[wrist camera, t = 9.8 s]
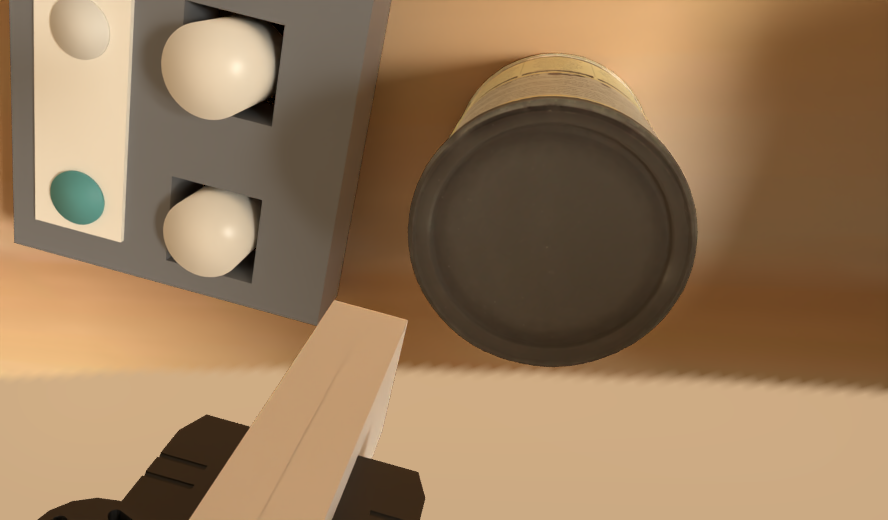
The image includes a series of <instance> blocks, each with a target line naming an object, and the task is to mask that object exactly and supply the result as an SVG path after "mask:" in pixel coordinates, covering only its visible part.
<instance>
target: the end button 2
mask: <svg viewBox="0 0 888 520" xmlns="http://www.w3.org/2000/svg"><path fill="white" fill-rule="evenodd" d="M261 207H262V200H260V199H256V198H252V197H248V196H245V195H241V194H237V193H233V192H230V191H226V190H222V189H219V188H215V187H211V186H207V185H206V186H204V187H203V188H201V189H200V190H198V191H196V192H195V193H193V194H192V195H190V196H189V197H187V198H185V199H184V200H182V201H181V202H179V203H178V204H176V205H175V206H174V207H173V208H172V209H171V210H170V211H169V212H168V214H167V216H166V218H165V221H164V226H163V236H164V241H165V244H166V247H167V249H168V251H169V253H170V254H171V256H172V257H173V258H174V260H175V261H176V262H177V263H178V264H179V265H180V266H182V267H183V268H184V269H186V270H187V271H189V272H191V273H193V274H196V275H199V276H203V277H218V276H222V275H224V274H226V273H228V272H230V271H231V270H232V269H233V268H235V267H236V266H237V265H238V264H239V263H240V262H241V261H242V260H243V259H244V258H245V257H246V256H247V255H248V254H249V253H250V252H251V251H252V250H253V249H255V248H256V246H257V238H258V230H259V222H260V215H261Z"/></svg>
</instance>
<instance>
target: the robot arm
mask: <svg viewBox="0 0 888 520" xmlns="http://www.w3.org/2000/svg"><path fill="white" fill-rule="evenodd" d="M407 323H408V320H406V319H403V318H399V317H395V316H392V315H388V314H384V313H381V312H377V311H373V310H370V309H366V308H362V307H359V306H355V305H351V304H348V303H344V302H340V301H337V300H334V301H333V302H332V304H331V306H330V307H329V309H328V310H327V312H326V313H325V315H324V316H323V318H322V319H321V321H320V322H319V324H318V325H317V327H316V328H315V330H314V331H313V333H312V334H311V336H310V337H309V339H308V340H307V342H306V343H305V345H304V346H303V348H302V349H301V351H300V352H299V354H298V355H297V357H296V358H295V360H294V362H293V363H292V365H291V366H290V368H289V369H288V371H287V372H286V374H285V375H284V377H283V378H282V380H281V381H280V383H279V384H278V386H277V387H276V389H275V390H274V392H273V393H272V395H271V397H270V398H269V400H268V401H267V402H266V404H265V405H264V407H263V408H262V410H261V412H260V413H259V415H258V416H257V418H256V419H255V421H254V422H253V424H252V425H251V427H249V426H245V425H242V424H238V423H235V422H231V421H228V420H224V419H220V418H217V417H213V416H210V415H205V416H203V417H201V418H200V419H198V420H196V421H194V422H193V423H191V424H189V425H187V426H185V427H184V428H182V429H180V430H179V431H178V432H177V433H176V434H175V436H174V437H173V438H172V439H171V441H170V442H169V443H168V444H167V446H166V447H165V448H164V449H163V451H162V452H161V454H160V457H157V458H156V459H155V460H154V462H153V463H152V464H151V465H150V467H149V468H148V469H147V470H146V473H145V476H142V477H141V478H140V479H139V480H138V481H137V483H136V484H135V485H134V486H133V488H132V489H131V490H130V491H129V493H128V494H127V495H126V496H125V498H124V499H123V500H122V501H117V500H110V499H102V498H93V499H86V500H79V501H72V502H69V503H67V504H65V505H62V506H60V507H57V508H55V509H52V510H50V511H48V512H47V513H46V514H44V515H43V516H42V517H40V518H39V519H38V520H420V517H421V513H422V509H423V505H424V501H425V495H424V492H423V488H422V484H421V481H420V477H419V473H418V472H416V471H412V470H409V469H405V468H401V467H398V466H394V465H391V464H387V463H383V462H380V461H376V460H373V459H372V457H373V454H374V452H375V449H376V446H377V443H378V441H379V439H380V436H381V433H382V430H383V426H384V421H385V417H386V412H387V409H388V404H389V400H390V396H391V391H392V387H393V383H394V378H395V374H396V370H397V366H398V361H399V357H400V353H401V348H402V344H403V340H404V336H405V331H406V327H407Z"/></svg>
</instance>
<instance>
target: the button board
mask: <svg viewBox="0 0 888 520" xmlns="http://www.w3.org/2000/svg"><path fill="white" fill-rule="evenodd" d="M390 4H391V0H9V16H10V62H11V108H12V155H13V201H14V243H17V244H21V245H24V246H28V247H32V248H35V249H39V250H43V251H46V252H50V253H54V254H57V255H61V256H64V257H68V258H72V259H75V260H79V261H83V262H86V263H90V264H94V265H97V266H101V267H104V268H108V269H112V270H115V271H119V272H123V273H126V274H130V275H134V276H137V277H141V278H144V279H148V280H152V281H155V282H159V283H163V284H166V285H170V286H174V287H177V288H181V289H185V290H188V291H192V292H195V293H199V294H203V295H206V296H210V297H214V298H217V299H221V300H225V301H228V302H232V303H235V304H239V305H243V306H246V307H250V308H254V309H257V310H261V311H265V312H268V313H272V314H275V315H279V316H283V317H286V318H290V319H294V320H297V321H301V322H305V323H308V324H312V325H315V326H317V325H318V324H319V322H320V320H321V319H322V317H323V316H324V314H325V313H326V311H327V310H328V308H329V307H330V305H331V304H332V302H333V301H334V299H335V298H336V296H337V293H338V287H339V282H340V276H341V271H342V266H343V260H344V255H345V249H346V244H347V238H348V233H349V227H350V222H351V217H352V211H353V206H354V200H355V195H356V189H357V184H358V179H359V173H360V168H361V162H362V157H363V151H364V146H365V140H366V135H367V130H368V124H369V119H370V113H371V108H372V102H373V97H374V92H375V86H376V81H377V75H378V70H379V64H380V59H381V53H382V48H383V43H384V37H385V32H386V26H387V21H388V15H389V10H390ZM219 9H223V10H227V11H231V12H235V13H238V14H242V15H246V16H250V17H254V18H258V19H262V20H266V21H270V22H274V23H278V24H281V25H285V28H284V35H283V43H282V51H281V59H280V67H279V74H278V82H277V90H276V98H275V105H271V104H267V103H263V102H260V103H258V104H255V105H253V106H251V107H249V108H247V109H245V110H243V111H241V112H239V113H237V114H235V115H232V116H230V117H228V118H225V119H220V120H207V119H202V118H199V117H197V116H194V115H192V114H190V113H189V112H187V111H186V110H185V109H183V108H182V107H181V106H180V105H179V104H178V103H177V102H176V101H175V100H174V98H173V97H172V96H171V94H170V93H169V91H168V89H167V87H166V85H165V82H164V79H163V75H162V68H161V59H162V53H163V49H164V46H165V44H166V42H167V40H168V38H169V37H170V36H171V35H172V33H173V32H175V31H176V30H177V29H178V28H180V27H181V26H184V25H186V24H189V23H193V22H198V21H204V20H210V19H216V18H219ZM203 184H204V185H207V186H211V187H215V188H219V189H222V190H226V191H230V192H233V193H237V194H241V195H245V196H248V197H252V198H256V199H260V200H262V207H261V215H260V222H259V230H258V238H257V246H256V251H255V250H252V251H251V252H250V253H249V254H248V255H247V256H246V257H245V258H244V259H243V260H242V261H241V262H240V263H239V264H238V265H237V266H236V267H235V268H233V269H232V270H231V271H230V272H228V273H226V274H224V275H222V276H218V277H203V276H199V275H196V274H193V273H191V272H189V271H187V270H186V269H184V268H183V267H182V266H180V265H179V264H178V263H177V262H176V261H175V260H174V258H173V257H172V256H171V254H170V253H169V251H168V249H167V247H166V244H165V241H164V236H163V226H164V221H165V218H166V216H167V214H168V212H169V211H170V210H171V209H172V208H173V207H174V206H175V205H176V204H178V203H179V202H181V201H182V200H184V199H185V198H187V197H189V196H190V195H192V194H193V193H195V192H196V191H198V190H200V189H201V188H203Z"/></svg>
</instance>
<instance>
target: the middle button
mask: <svg viewBox="0 0 888 520" xmlns="http://www.w3.org/2000/svg"><path fill="white" fill-rule="evenodd" d="M282 43H283V37H282V35H281V34H280V33H279V31H278V30H277V29H276V28H275V27H274V26H273V25H272V24H270V23H269V22H268V21H266V20H262V19H258V18H254V17H250V16H246V15H242V14H239V15H233V16H227V17H221V18H216V19H210V20H204V21H198V22H193V23H189V24H186V25H184V26H181V27H180V28H178V29H177V30H176V31H175V32H173V33H172V35H171V36H170V37H169V38H168V40H167V42H166V44H165V46H164V49H163V53H162V59H161V68H162V75H163V79H164V82H165V85H166V87H167V89H168V91H169V93H170V94H171V96H172V97H173V98H174V100H175V101H176V102H177V103H178V104H179V105H180V106H181V107H182V108H183V109H185V110H186V111H187V112H189V113H190V114H192V115H194V116H197V117H199V118H202V119H207V120H220V119H225V118H228V117H230V116H232V115H235V114H237V113H239V112H241V111H243V110H245V109H247V108H249V107H251V106H253V105H255V104H258V103H260V102H262V101H264V100H266V99H268V98H270V97H272V96H273V95H275V94H276V90H277V82H278V74H279V67H280V59H281V51H282Z"/></svg>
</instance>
